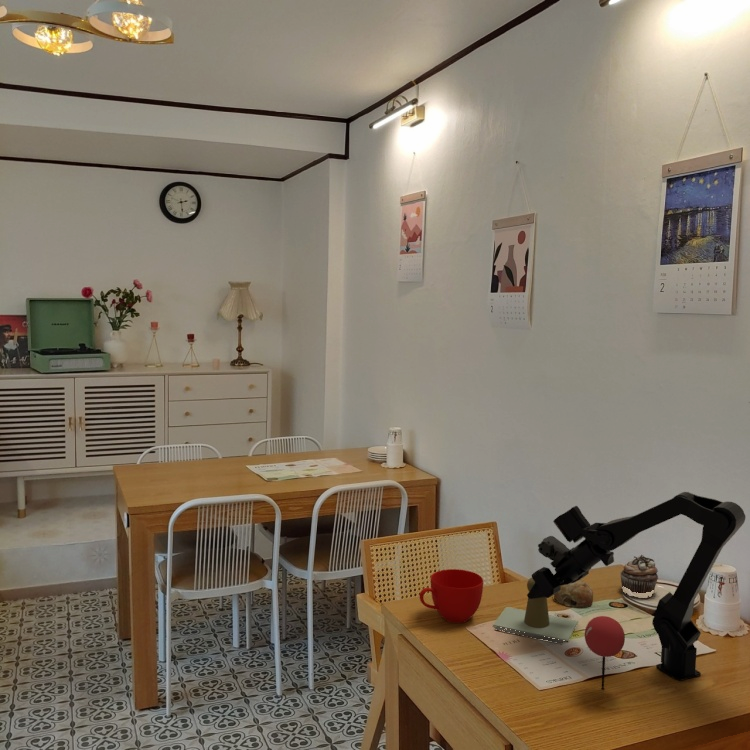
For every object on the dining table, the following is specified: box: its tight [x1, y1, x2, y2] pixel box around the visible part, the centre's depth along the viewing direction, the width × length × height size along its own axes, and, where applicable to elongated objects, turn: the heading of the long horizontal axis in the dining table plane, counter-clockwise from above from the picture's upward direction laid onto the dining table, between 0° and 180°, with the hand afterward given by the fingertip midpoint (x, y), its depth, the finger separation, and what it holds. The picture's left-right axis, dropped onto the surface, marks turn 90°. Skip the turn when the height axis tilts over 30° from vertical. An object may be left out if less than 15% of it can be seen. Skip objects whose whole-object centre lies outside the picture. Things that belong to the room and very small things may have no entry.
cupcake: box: [619, 554, 659, 593], centre depth 203 cm, size 10×10×10 cm
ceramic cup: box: [419, 568, 484, 624], centre depth 184 cm, size 13×17×10 cm
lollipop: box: [584, 615, 626, 690], centre depth 152 cm, size 8×8×15 cm
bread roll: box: [553, 578, 594, 608], centre depth 197 cm, size 10×10×8 cm
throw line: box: [494, 627, 564, 644], centre depth 176 cm, size 16×2×1 cm, turn 64°
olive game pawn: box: [524, 577, 550, 628], centre depth 182 cm, size 6×6×11 cm
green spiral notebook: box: [492, 606, 579, 642], centre depth 182 cm, size 18×12×1 cm, turn 64°
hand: (538, 591), depth 181 cm, fingers open, 9 cm apart
